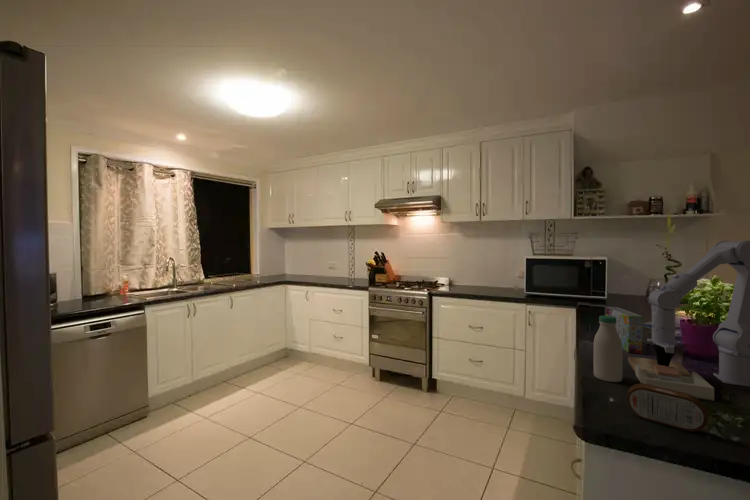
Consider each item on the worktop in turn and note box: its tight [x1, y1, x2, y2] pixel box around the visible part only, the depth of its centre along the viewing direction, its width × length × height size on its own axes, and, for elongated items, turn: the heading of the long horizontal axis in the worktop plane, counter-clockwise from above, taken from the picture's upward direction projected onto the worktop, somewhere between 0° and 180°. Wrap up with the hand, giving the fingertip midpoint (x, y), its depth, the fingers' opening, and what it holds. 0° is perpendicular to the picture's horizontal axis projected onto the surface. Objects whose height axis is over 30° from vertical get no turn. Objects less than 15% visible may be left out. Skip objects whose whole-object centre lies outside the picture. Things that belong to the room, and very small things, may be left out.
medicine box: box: [642, 321, 655, 346], centre depth 146 cm, size 8×4×9 cm, turn 120°
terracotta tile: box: [654, 364, 679, 377], centre depth 106 cm, size 5×5×2 cm
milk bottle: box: [593, 315, 623, 383], centre depth 108 cm, size 8×8×20 cm
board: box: [627, 355, 692, 377], centre depth 114 cm, size 14×14×2 cm
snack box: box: [605, 306, 644, 355], centre depth 142 cm, size 21×6×15 cm, turn 167°
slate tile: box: [658, 375, 684, 383], centre depth 101 cm, size 5×5×2 cm
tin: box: [626, 383, 710, 432], centre depth 81 cm, size 15×3×8 cm, turn 45°
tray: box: [635, 365, 715, 402], centre depth 101 cm, size 15×13×4 cm
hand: (663, 368), depth 109 cm, fingers closed
